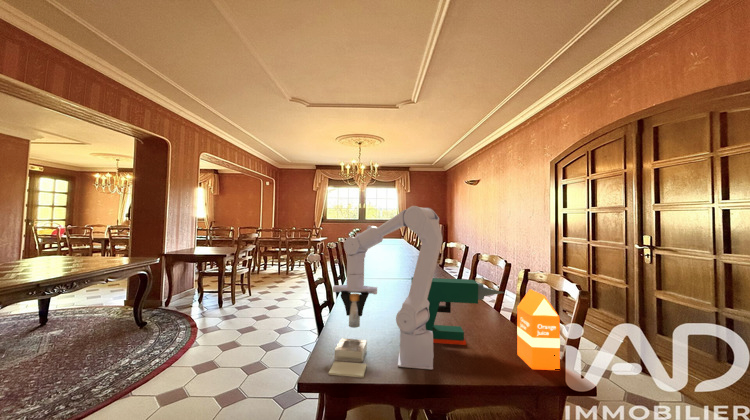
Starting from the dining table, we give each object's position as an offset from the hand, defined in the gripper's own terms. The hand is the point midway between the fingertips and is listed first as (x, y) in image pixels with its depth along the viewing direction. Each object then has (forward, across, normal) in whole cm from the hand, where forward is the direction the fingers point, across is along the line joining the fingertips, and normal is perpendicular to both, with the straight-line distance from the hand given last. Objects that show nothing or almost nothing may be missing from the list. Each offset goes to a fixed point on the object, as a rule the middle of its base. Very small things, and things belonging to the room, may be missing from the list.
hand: (354, 315), depth 94 cm
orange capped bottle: (+3, 0, 0) cm, 3 cm away
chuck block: (+9, -1, +9) cm, 13 cm away
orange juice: (+9, -55, +4) cm, 56 cm away
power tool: (+9, -34, -8) cm, 36 cm away
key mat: (+9, -2, +18) cm, 20 cm away
